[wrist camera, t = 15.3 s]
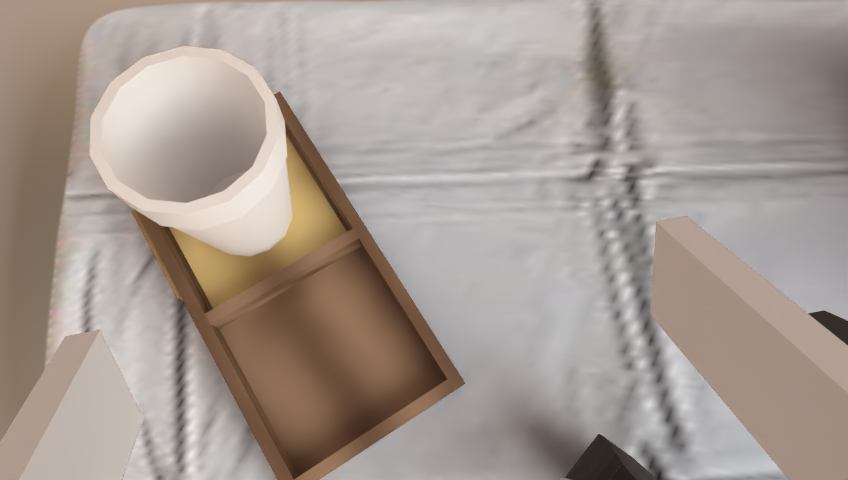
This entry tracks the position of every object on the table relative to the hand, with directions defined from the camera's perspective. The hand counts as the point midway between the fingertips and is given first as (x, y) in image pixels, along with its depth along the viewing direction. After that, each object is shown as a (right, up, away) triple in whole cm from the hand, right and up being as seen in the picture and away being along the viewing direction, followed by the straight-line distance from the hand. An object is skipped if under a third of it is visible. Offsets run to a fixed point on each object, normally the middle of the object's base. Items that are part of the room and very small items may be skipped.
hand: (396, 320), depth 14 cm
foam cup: (-12, +4, +28) cm, 31 cm away
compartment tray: (-9, -1, +28) cm, 29 cm away
